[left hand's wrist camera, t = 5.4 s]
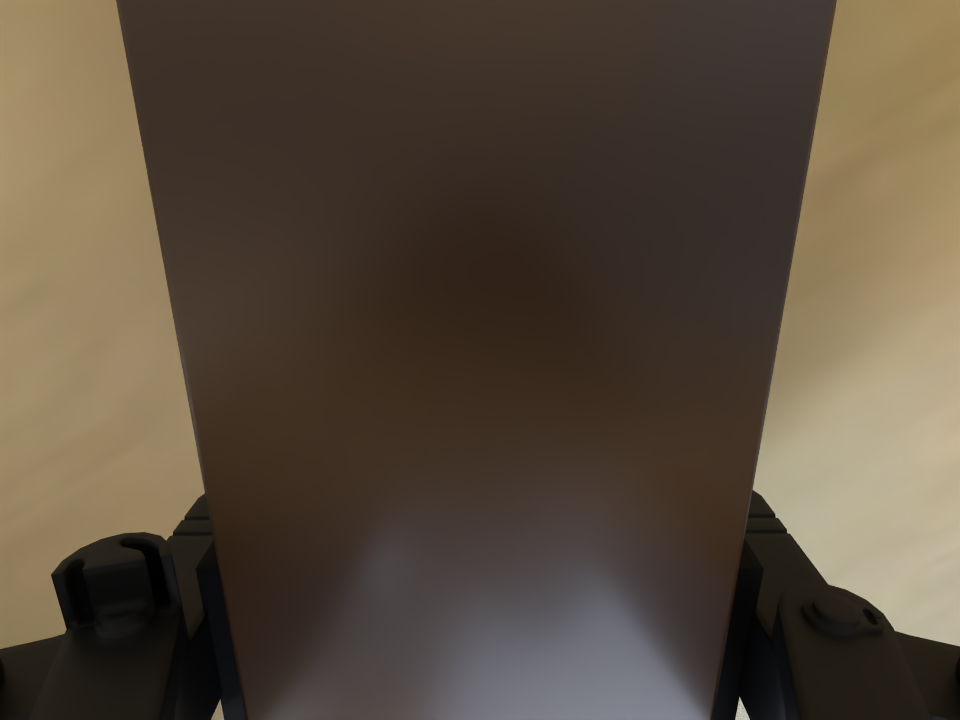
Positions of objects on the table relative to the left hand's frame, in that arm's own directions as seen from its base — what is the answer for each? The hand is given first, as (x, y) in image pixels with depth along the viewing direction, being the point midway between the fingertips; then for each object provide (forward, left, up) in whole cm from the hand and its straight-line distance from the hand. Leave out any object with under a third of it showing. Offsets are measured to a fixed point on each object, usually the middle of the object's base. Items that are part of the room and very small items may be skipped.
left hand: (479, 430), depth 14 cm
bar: (+16, +18, -1) cm, 24 cm away
